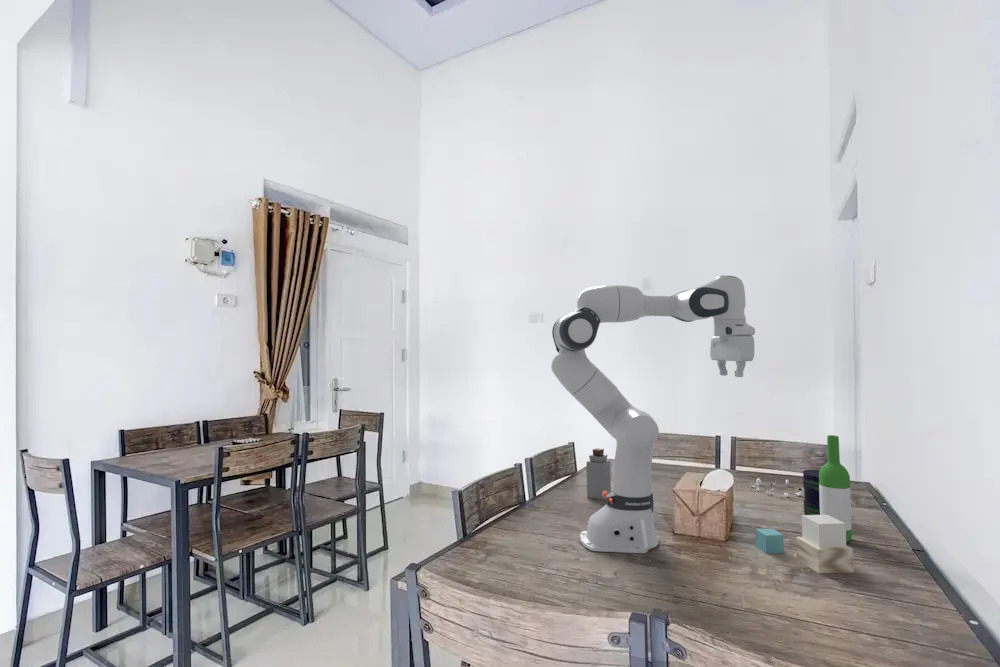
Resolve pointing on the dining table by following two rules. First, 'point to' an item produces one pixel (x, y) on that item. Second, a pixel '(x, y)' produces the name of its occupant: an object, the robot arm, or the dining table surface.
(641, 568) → the dining table surface
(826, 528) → the white middle block
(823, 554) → the birch base block
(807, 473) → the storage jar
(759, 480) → the game piece set
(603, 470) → the perfume bottle
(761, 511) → the dining table surface
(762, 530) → the teal cube
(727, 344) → the robot arm
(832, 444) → the wine bottle
